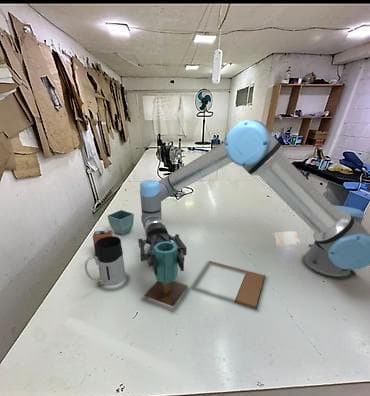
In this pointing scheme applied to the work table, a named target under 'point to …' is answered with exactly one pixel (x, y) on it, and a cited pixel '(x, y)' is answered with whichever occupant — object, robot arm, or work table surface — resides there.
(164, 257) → the sleeve
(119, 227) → the flower pot
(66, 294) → the work table surface
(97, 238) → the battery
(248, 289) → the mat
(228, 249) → the work table surface
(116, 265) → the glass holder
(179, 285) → the peg stand
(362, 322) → the work table surface
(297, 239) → the work table surface
